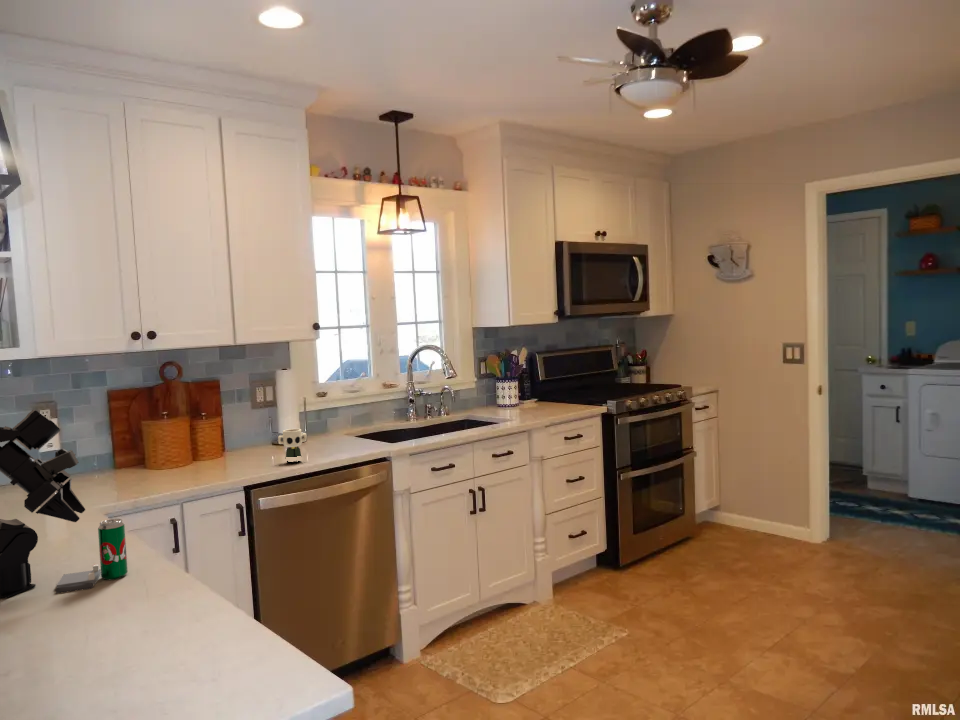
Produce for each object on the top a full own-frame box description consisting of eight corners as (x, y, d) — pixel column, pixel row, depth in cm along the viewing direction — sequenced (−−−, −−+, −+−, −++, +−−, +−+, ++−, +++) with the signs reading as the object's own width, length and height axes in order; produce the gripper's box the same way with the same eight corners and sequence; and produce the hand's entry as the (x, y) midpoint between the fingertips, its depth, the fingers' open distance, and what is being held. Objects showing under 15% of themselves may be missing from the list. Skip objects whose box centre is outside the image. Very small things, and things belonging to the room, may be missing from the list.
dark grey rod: (56, 594, 142) (55, 588, 142) (57, 592, 143) (57, 586, 143) (93, 589, 144) (92, 583, 144) (94, 587, 145) (93, 581, 145)
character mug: (280, 465, 271) (278, 432, 270) (278, 462, 277) (276, 430, 277) (309, 462, 275) (307, 429, 275) (306, 459, 282) (304, 427, 281)
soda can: (121, 570, 154) (117, 517, 154) (132, 575, 151) (128, 520, 151) (97, 577, 151) (93, 522, 150) (107, 582, 147) (103, 526, 147)
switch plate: (56, 590, 144) (56, 579, 144) (64, 579, 151) (63, 568, 150) (95, 584, 146) (94, 573, 146) (100, 573, 153) (100, 563, 153)
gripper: (43, 443, 138) (106, 495, 143) (59, 433, 156) (115, 480, 160) (-4, 485, 135) (62, 537, 140) (17, 471, 152) (75, 517, 157)
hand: (80, 515), depth 149 cm, fingers open, 9 cm apart
